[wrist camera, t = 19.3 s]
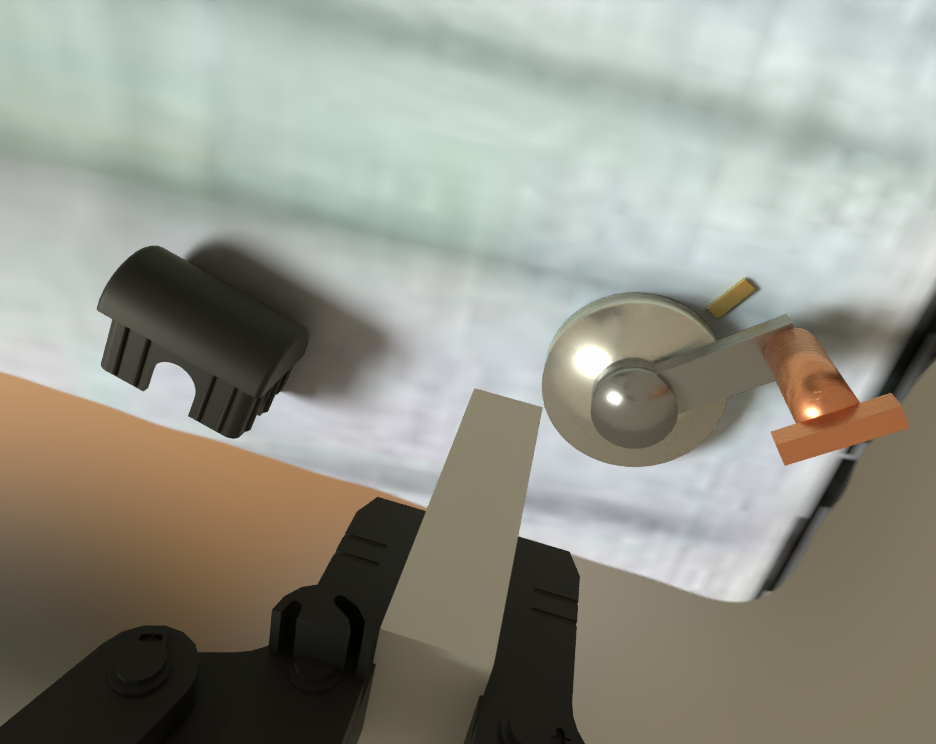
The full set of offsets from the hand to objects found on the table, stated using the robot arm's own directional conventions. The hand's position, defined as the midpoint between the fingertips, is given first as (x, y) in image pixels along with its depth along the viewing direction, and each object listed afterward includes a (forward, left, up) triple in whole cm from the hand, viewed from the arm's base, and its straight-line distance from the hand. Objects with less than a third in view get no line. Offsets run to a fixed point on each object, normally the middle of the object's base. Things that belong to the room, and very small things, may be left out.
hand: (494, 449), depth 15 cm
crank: (+9, +5, -21) cm, 23 cm away
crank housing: (+10, +3, -23) cm, 26 cm away
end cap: (+1, -21, -24) cm, 32 cm away
